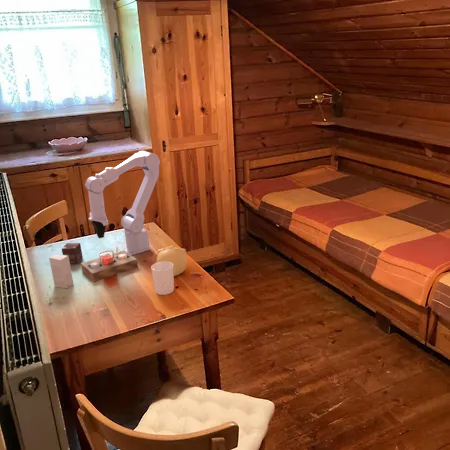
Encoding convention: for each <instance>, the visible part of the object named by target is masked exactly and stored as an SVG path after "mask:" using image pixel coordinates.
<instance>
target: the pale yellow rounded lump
mask: <svg viewBox="0 0 450 450" xmlns="http://www.w3.org/2000/svg"><path fill="white" fill-rule="evenodd" d="M157 252H158V254H157V258H156V263H157V262H162V261H167V262H171V263H172V264H173V272H174V277H176V276H178V275H180V274H182V273H184V271H185V270H186V266H187V262H188V261H187V259H188V258H187V251H186V248H183V247H177V246H176V245H169V246H166V247H163V248H160V249H158V250H157Z"/></svg>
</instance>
